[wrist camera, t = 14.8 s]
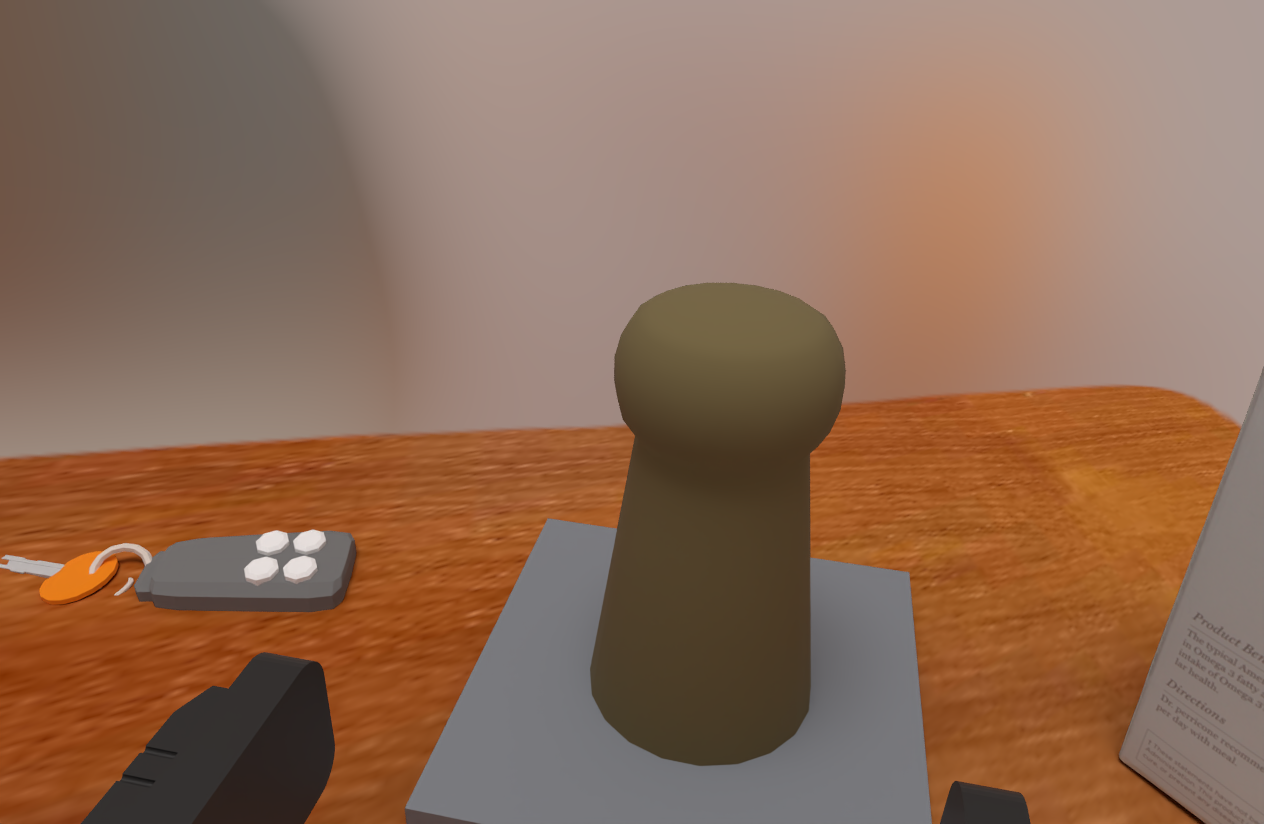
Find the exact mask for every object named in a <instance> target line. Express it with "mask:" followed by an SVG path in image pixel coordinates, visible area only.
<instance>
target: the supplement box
mask: <svg viewBox="0 0 1264 824" xmlns="http://www.w3.org/2000/svg"><path fill="white" fill-rule="evenodd" d="M1119 758H1120V759H1121V760H1122V761H1123V762H1124V763H1125V764H1127V765H1128V766H1129V767H1131V768H1132V769H1134V770H1135V771H1136V772H1138V773H1139V774H1140V775H1142V776H1143V777H1144V778H1146V779H1147V780H1148V781H1150V782H1151V783H1153V784H1154V785H1155V786H1157V787H1158V788H1159V789H1161V790H1162V791H1163V792H1165V793H1166V794H1167V795H1169V796H1170V797H1171V798H1173V799H1174V800H1175V801H1177V802H1178V803H1179V804H1181V805H1182V806H1183V807H1185V808H1186V809H1187V810H1188V811H1190V812H1191V813H1192V814H1194V815H1195V816H1196V817H1198V818H1199V819H1200V820H1202V821H1203V822H1204V823H1206V824H1264V367H1263V370H1262V373H1261V376H1260V379H1259V381H1258V384H1257V387H1256V390H1255V392H1254V395H1253V398H1252V401H1251V403H1250V406H1249V409H1248V411H1247V414H1246V417H1245V420H1244V422H1243V425H1242V428H1241V430H1240V433H1239V436H1238V438H1237V441H1236V444H1235V446H1234V449H1233V451H1232V454H1231V456H1230V459H1229V462H1228V464H1227V467H1226V469H1225V472H1224V475H1223V477H1222V480H1221V483H1220V485H1219V488H1218V490H1217V493H1216V496H1215V498H1214V501H1213V504H1212V506H1211V509H1210V511H1209V514H1208V517H1207V519H1206V522H1205V525H1204V527H1203V530H1202V532H1201V535H1200V537H1199V540H1198V542H1197V545H1196V547H1195V550H1194V553H1193V555H1192V558H1191V561H1190V564H1189V566H1188V569H1187V572H1186V574H1185V577H1184V579H1183V582H1182V585H1181V587H1180V590H1179V593H1178V595H1177V598H1176V600H1175V603H1174V605H1173V608H1172V611H1171V613H1170V616H1169V619H1168V621H1167V624H1166V627H1165V629H1164V632H1163V635H1162V637H1161V640H1160V643H1159V645H1158V648H1157V651H1156V653H1155V656H1154V659H1153V661H1152V664H1151V666H1150V669H1149V672H1148V675H1147V678H1146V681H1145V685H1144V688H1143V691H1142V693H1141V696H1140V699H1139V701H1138V704H1137V706H1136V709H1135V712H1134V714H1133V717H1132V720H1131V722H1130V725H1129V728H1128V731H1127V734H1126V737H1125V739H1124V742H1123V745H1122V748H1121V751H1120V753H1119Z"/></svg>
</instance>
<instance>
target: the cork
mask: <svg viewBox="0 0 1264 824" xmlns="http://www.w3.org/2000/svg"><path fill="white" fill-rule="evenodd" d="M845 371H846V370H845V361H844V353H843V347H842V345H841V343H840V341H839V339H838V336H837V334H836V332H835V330H834V328H833V327H832V325H831V324H830V322H829V321H828V320H827V318H826V317H825V316H824V315H823V314H822V313H820V312H819V311H817V310H816V309H814V308H812V307H811V306H810V305H808V304H806V303H805V302H803V301H802V300H800V299H799V298H796V297H794V296H791V295H789V294H786V293H783V292H781V291H777V290H773V289H769V288H764V287H760V286H755V285H746V284H737V283H703V284H695V285H686V286H682V287H679V288H675V289H672V290H669V291H666V292H664V293H661V294H659V295H657V296H655V297H653V298H652V299H650V300H649V301H647V302H645V303H643V304H642V305H641V306H640V307H639V308H638V310H637V311H636V313H635V314H634V315H633V317H632V318H631V320H630V321H629V323H628V324H627V326H626V328H625V329H624V331H623V333H622V334H621V337H620V340H619V344H618V347H617V351H616V354H615V368H614V381H615V387H616V392H617V397H618V402H619V406H620V410H621V413H622V418H623V420H624V422H625V423H626V424H627V426H628V427H629V428H630V429H631V431H632V432H633V433H634V435H635V439H634V445H633V450H632V455H631V460H630V465H629V470H628V476H627V481H626V486H625V491H624V496H623V501H622V507H621V512H620V517H619V522H618V527H617V532H616V537H615V543H614V548H613V553H612V558H611V563H610V568H609V574H608V579H607V584H606V589H605V594H604V599H603V605H602V610H601V615H600V620H599V625H598V630H597V635H596V641H595V646H594V651H593V656H592V661H591V666H590V677H591V691H592V696H593V698H594V700H595V702H596V704H597V706H598V708H599V709H600V711H601V713H602V715H603V717H604V719H605V720H606V721H607V722H608V723H609V724H610V725H611V726H612V727H613V728H614V729H615V730H616V731H617V732H619V733H620V734H621V735H622V736H623V737H624V738H625V739H626V740H627V741H628V742H630V743H632V744H634V745H636V746H638V747H640V748H642V749H644V750H646V751H648V752H650V753H652V754H654V755H656V756H658V757H660V758H663V759H667V760H672V761H677V762H682V763H687V764H692V765H697V766H712V765H732V764H740V763H743V762H746V761H749V760H752V759H755V758H758V757H761V756H764V755H767V754H770V753H772V752H773V751H774V750H775V749H777V748H778V747H779V746H781V745H782V744H783V743H785V742H786V741H787V740H789V739H790V738H791V737H793V736H794V735H795V734H796V732H797V731H798V729H799V727H800V725H801V724H802V722H803V720H804V719H805V717H806V715H807V713H808V712H809V703H810V690H811V602H810V453H811V452H812V451H813V450H814V449H816V448H817V447H818V446H819V444H820V443H821V442H822V441H823V440H824V439H825V437H826V436H827V435H828V434H829V433H830V431H831V429H832V427H833V425H834V423H835V420H836V418H837V416H838V414H839V412H840V409H841V404H842V398H843V392H844V387H845Z"/></svg>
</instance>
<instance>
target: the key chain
mask: <svg viewBox="0 0 1264 824" xmlns="http://www.w3.org/2000/svg"><path fill="white" fill-rule="evenodd" d="M122 551H127V552H134V553H136V554H137V555H139V556H140V557H141V558H142V560H143V562H144V564H145V568H144V569H143V571H142V573H141V574H140V576H139V578H138V580H137V581H136V583H135V585H134V587H135V591H136V594H137V596H138V599H139V601H153V603H154V605H155V607H158V608H166V609H173V610H203V611H267V612H314V611H321V610H328V609H334V608H335V607H336V606H337V605H338V604H340V603H341V602H342V601H343V599H344V596H345V593H346V590H347V587H348V584H349V581H350V578H351V575H352V570H353V566H354V561H355V557H356V547H355V540H354V539H353V537H352V535H351V534H350V533H343V532H336V531H316V530H310V531H307V532H299V533H284V532H281V531H277V530H276V531H273V532H269V533H265V534H263V535H247V536H231V537H214V538H201V539H195V540H189V541H183V542H176V543H175V544H173V545H172V546H170V547H168V548H167V550H166V551H162V552H159V553H158V554H156V555H155V556H154V557H153V558H152V557H151V554H150V552H149V551H147V550H146V549H144V548H143V547H141V546H140V545H136V544H128V543H124V544H120V545H116V546H112V547H109V548H108V549H106V550H105V551H96V552H92V553H88V554H84V555H81V556H79V557H77V558H75V559H73V560H71V561H69V562H67V563H66V564H65V565H63V564H57V563H51V562H45V561H40V560H38V561H32V560H26V558H21V557H16V556H10V555H6V556H4V557H3V558H2V559H7V560H9V562H8V564H7V565H3V564H0V568H5V569H9V570H10V571H12V572H17V573H21V574H24V573H27V574H32V575H36V576H41V577H45V578H48V579H46V580H45V581H44V583H43V584H42V586H41V587H40V589H39V591H40V596H41V598H42V600H43V601H44V602H46V603H48V604H50V605H57V604H66V603H70V602H74V601H77V600H80V599H82V598H84V597H86V596H88V595H90V594H92V593H94V592H95V591H97V590H98V589H102V586H104V585H105V584H107V583H108V581H109V580H110V579H111V578H112V577H113V576H114V575H115V574H116V571H117V569H118V566H119V564H118V561H117V558H116V556H115V554H114V553H118V552H122ZM133 583H134V581H133V578H129V579H128V583H127V584H126V585H125V586H124V587H123V588H122V589H121V590H119V591H118V592H117V593H115V594H114V595H120V594H122V593H124V592H126V591H127V590H128V589H129V588H130V587H131V586H132V584H133Z"/></svg>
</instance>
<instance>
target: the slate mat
mask: <svg viewBox="0 0 1264 824" xmlns="http://www.w3.org/2000/svg"><path fill="white" fill-rule="evenodd" d="M616 532H617V529H615V528H608V527H602V526H595V525H588V524H581V523H575V522H568V521H561V520H555V519H548V520H547V522H546V524H545V526H544V528H543V530H542V532H541V534H540V536H539V538H538V540H537V542H536V544H535V546H534V548H533V550H532V552H531V554H530V556H529V558H528V560H527V562H526V564H525V566H524V568H523V570H522V572H521V574H520V576H519V578H518V580H517V582H516V584H515V586H514V588H513V590H512V592H511V594H510V596H509V598H508V600H507V602H506V604H505V607H504V609H503V611H502V613H501V615H500V617H499V619H498V621H497V623H496V625H495V627H494V629H493V631H492V633H491V635H490V637H489V639H488V641H487V643H486V645H485V647H484V649H483V651H482V653H481V655H480V657H479V659H478V661H477V663H476V665H475V667H474V669H473V671H472V673H471V675H470V677H469V679H468V681H467V683H466V685H465V687H464V689H463V692H462V694H461V696H460V698H459V700H458V702H457V704H456V706H455V708H454V710H453V712H452V714H451V716H450V718H449V720H448V722H447V724H446V726H445V728H444V730H443V732H442V734H441V736H440V738H439V740H438V742H437V744H436V746H435V748H434V750H433V752H432V754H431V756H430V758H429V760H428V762H427V764H426V766H425V768H424V770H423V772H422V774H421V776H420V779H419V781H418V783H417V785H416V787H415V789H414V791H413V793H412V795H411V797H410V799H409V801H408V803H407V805H406V807H405V814H406V823H407V824H932V821H931V810H930V799H929V787H928V776H927V765H926V754H925V743H924V732H923V721H922V710H921V699H920V688H919V677H918V666H917V655H916V644H915V633H914V622H913V611H912V599H911V588H910V577H909V572H903V571H896V570H889V569H883V568H876V567H869V566H862V565H856V564H849V563H842V562H836V561H829V560H822V559H816V558H810V602H811V690H810V703H809V712H808V713H807V715H806V717H805V719H804V720H803V722H802V724H801V725H800V727H799V729H798V731H797V732H796V734H795V735H794V736H793V737H791V738H790V739H789V740H787V741H786V742H785V743H783V744H782V745H781V746H779V747H778V748H777V749H775V750H774V751H773V752H772V753H770V754H767V755H764V756H761V757H758V758H755V759H752V760H749V761H746V762H743V763H740V764H732V765H712V766H697V765H692V764H687V763H682V762H677V761H672V760H667V759H663V758H660V757H658V756H656V755H654V754H652V753H650V752H648V751H646V750H644V749H642V748H640V747H638V746H636V745H634V744H632V743H630V742H628V741H627V740H626V739H625V738H624V737H623V736H622V735H621V734H620V733H619V732H617V731H616V730H615V729H614V728H613V727H612V726H611V725H610V724H609V723H608V722H607V721H606V720H605V719H604V717H603V715H602V713H601V711H600V709H599V708H598V706H597V704H596V702H595V700H594V698H593V696H592V691H591V677H590V666H591V661H592V656H593V651H594V646H595V641H596V635H597V630H598V625H599V620H600V615H601V610H602V605H603V599H604V594H605V589H606V584H607V579H608V574H609V568H610V563H611V558H612V553H613V548H614V543H615V537H616Z"/></svg>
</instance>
